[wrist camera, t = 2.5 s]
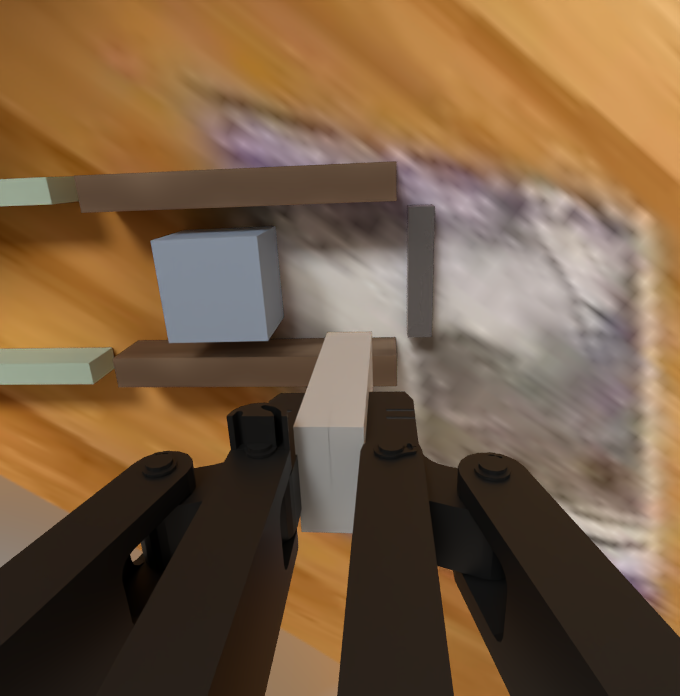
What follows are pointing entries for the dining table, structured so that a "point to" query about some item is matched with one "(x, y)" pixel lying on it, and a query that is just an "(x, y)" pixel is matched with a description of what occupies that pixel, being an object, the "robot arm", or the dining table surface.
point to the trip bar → (420, 269)
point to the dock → (49, 361)
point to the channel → (238, 191)
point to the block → (219, 284)
